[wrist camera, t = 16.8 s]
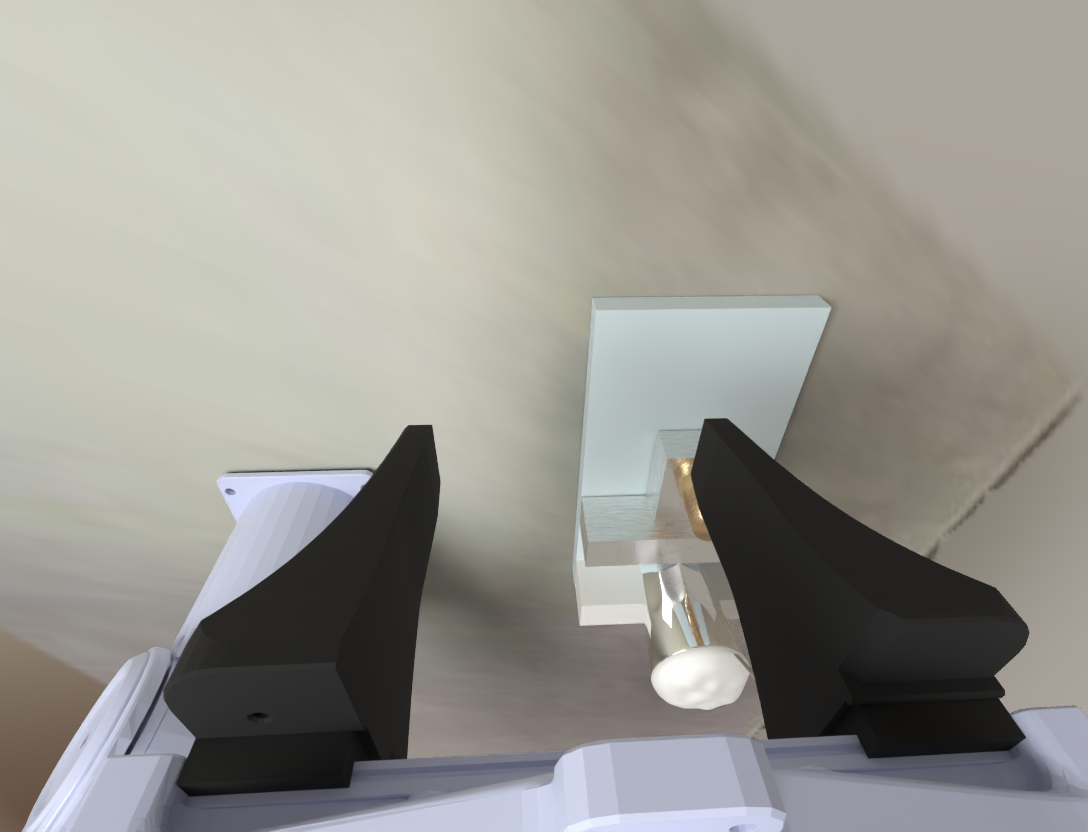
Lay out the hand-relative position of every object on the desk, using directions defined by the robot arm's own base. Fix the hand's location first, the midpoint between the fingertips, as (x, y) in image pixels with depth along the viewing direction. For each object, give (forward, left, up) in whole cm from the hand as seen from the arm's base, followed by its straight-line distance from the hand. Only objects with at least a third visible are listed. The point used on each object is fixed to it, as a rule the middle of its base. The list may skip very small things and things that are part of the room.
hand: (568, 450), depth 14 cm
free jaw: (-10, -7, -9) cm, 15 cm away
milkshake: (-15, -7, -9) cm, 19 cm away
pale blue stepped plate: (-10, -7, -10) cm, 16 cm away
